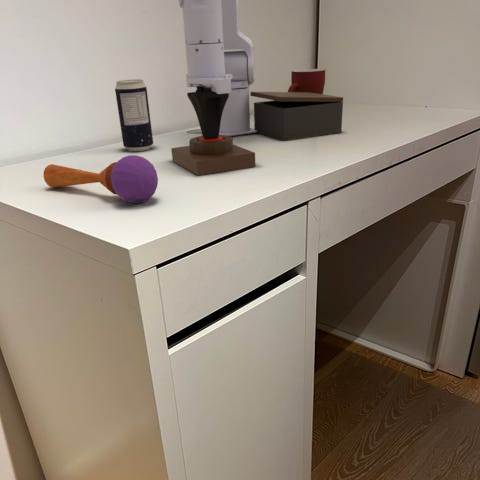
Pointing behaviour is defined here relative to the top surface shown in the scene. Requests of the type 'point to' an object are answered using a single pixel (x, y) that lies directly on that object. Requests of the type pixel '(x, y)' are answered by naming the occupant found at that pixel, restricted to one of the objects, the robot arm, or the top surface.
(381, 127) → the top surface
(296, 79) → the mug
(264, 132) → the dark gray box
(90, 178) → the purple maraca
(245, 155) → the panel
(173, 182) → the top surface
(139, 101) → the beverage can
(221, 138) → the button
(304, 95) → the brown box lid
